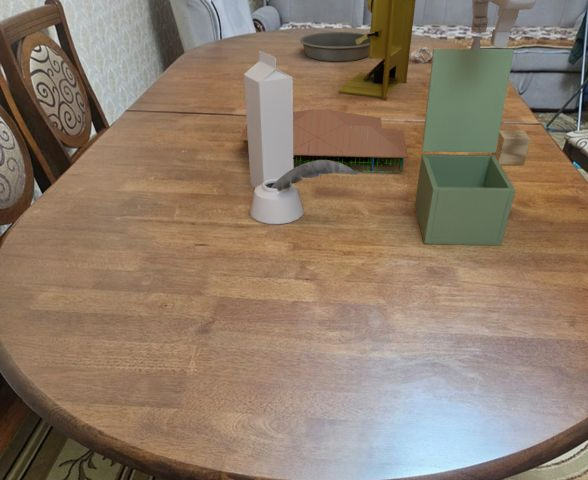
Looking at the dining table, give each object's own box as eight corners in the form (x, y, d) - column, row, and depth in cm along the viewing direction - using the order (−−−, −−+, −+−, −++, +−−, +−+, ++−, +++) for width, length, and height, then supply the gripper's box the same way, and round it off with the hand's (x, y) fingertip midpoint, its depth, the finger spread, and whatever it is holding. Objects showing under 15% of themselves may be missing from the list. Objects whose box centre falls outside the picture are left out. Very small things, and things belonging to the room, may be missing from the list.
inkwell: (259, 198, 97) (256, 141, 90) (360, 209, 93) (364, 151, 86) (241, 221, 90) (237, 161, 83) (349, 235, 86) (352, 173, 79)
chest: (501, 245, 83) (515, 190, 77) (424, 243, 84) (433, 189, 78) (483, 206, 93) (494, 154, 88) (414, 204, 94) (421, 153, 88)
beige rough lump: (415, 51, 167) (409, 44, 171) (413, 66, 170) (407, 59, 174) (440, 49, 167) (434, 43, 172) (438, 64, 170) (431, 57, 175)
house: (253, 130, 124) (251, 92, 119) (399, 133, 121) (404, 94, 116) (235, 169, 107) (232, 126, 101) (406, 174, 104) (411, 130, 99)
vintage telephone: (368, 71, 163) (377, -53, 144) (414, 76, 159) (429, -52, 139) (328, 100, 141) (332, -42, 122) (379, 106, 137) (392, -41, 118)
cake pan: (368, 45, 191) (369, 30, 188) (380, 62, 172) (381, 46, 169) (298, 46, 190) (297, 32, 187) (302, 63, 171) (302, 47, 168)
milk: (264, 197, 97) (257, 60, 83) (250, 185, 101) (241, 52, 87) (294, 190, 99) (292, 55, 85) (279, 178, 103) (275, 47, 89)
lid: (514, 49, 80) (512, 49, 80) (434, 49, 80) (433, 49, 81) (495, 152, 87) (494, 151, 88) (422, 151, 88) (421, 150, 88)
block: (517, 155, 111) (524, 130, 108) (524, 164, 107) (530, 139, 104) (492, 155, 111) (498, 129, 108) (498, 164, 107) (504, 138, 104)
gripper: (574, -92, 57) (538, 55, 66) (511, -96, 73) (489, 23, 81) (513, -91, 57) (486, 57, 66) (463, -95, 73) (447, 25, 82)
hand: (487, 38), depth 74 cm, fingers open, 8 cm apart
